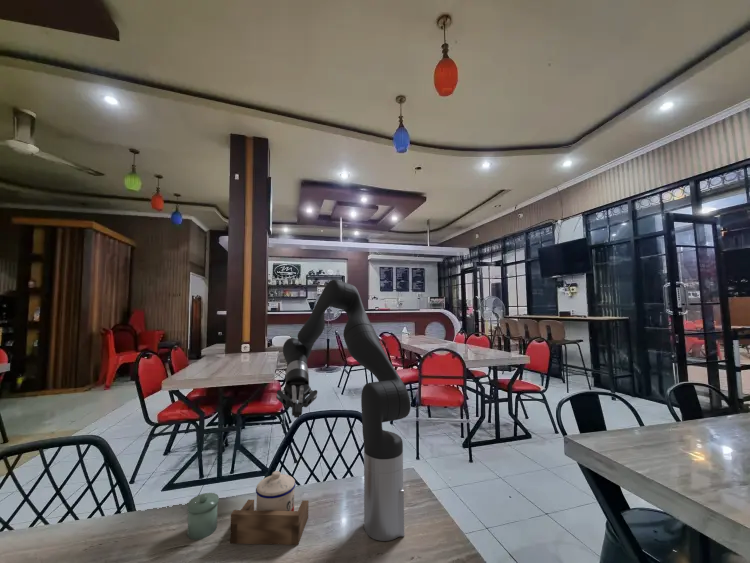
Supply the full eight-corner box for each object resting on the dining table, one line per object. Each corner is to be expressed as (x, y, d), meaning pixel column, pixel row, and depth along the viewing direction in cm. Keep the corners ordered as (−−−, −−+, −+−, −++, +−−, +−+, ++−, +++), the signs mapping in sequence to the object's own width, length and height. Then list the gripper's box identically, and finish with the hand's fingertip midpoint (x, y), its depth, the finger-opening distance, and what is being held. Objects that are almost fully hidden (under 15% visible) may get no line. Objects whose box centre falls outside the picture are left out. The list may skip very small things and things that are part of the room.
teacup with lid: (290, 536, 72) (290, 482, 73) (248, 537, 72) (250, 483, 73) (300, 504, 84) (301, 457, 85) (265, 505, 84) (266, 458, 85)
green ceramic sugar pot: (221, 518, 78) (222, 485, 78) (212, 538, 72) (214, 502, 72) (192, 521, 77) (193, 488, 77) (181, 541, 71) (182, 505, 71)
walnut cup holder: (308, 517, 78) (308, 491, 79) (298, 544, 70) (298, 515, 70) (247, 516, 79) (248, 491, 79) (230, 543, 70) (230, 514, 71)
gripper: (277, 367, 105) (274, 405, 90) (318, 368, 109) (321, 404, 93) (275, 385, 108) (272, 426, 92) (315, 386, 111) (318, 424, 96)
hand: (297, 415), depth 93 cm, fingers closed
